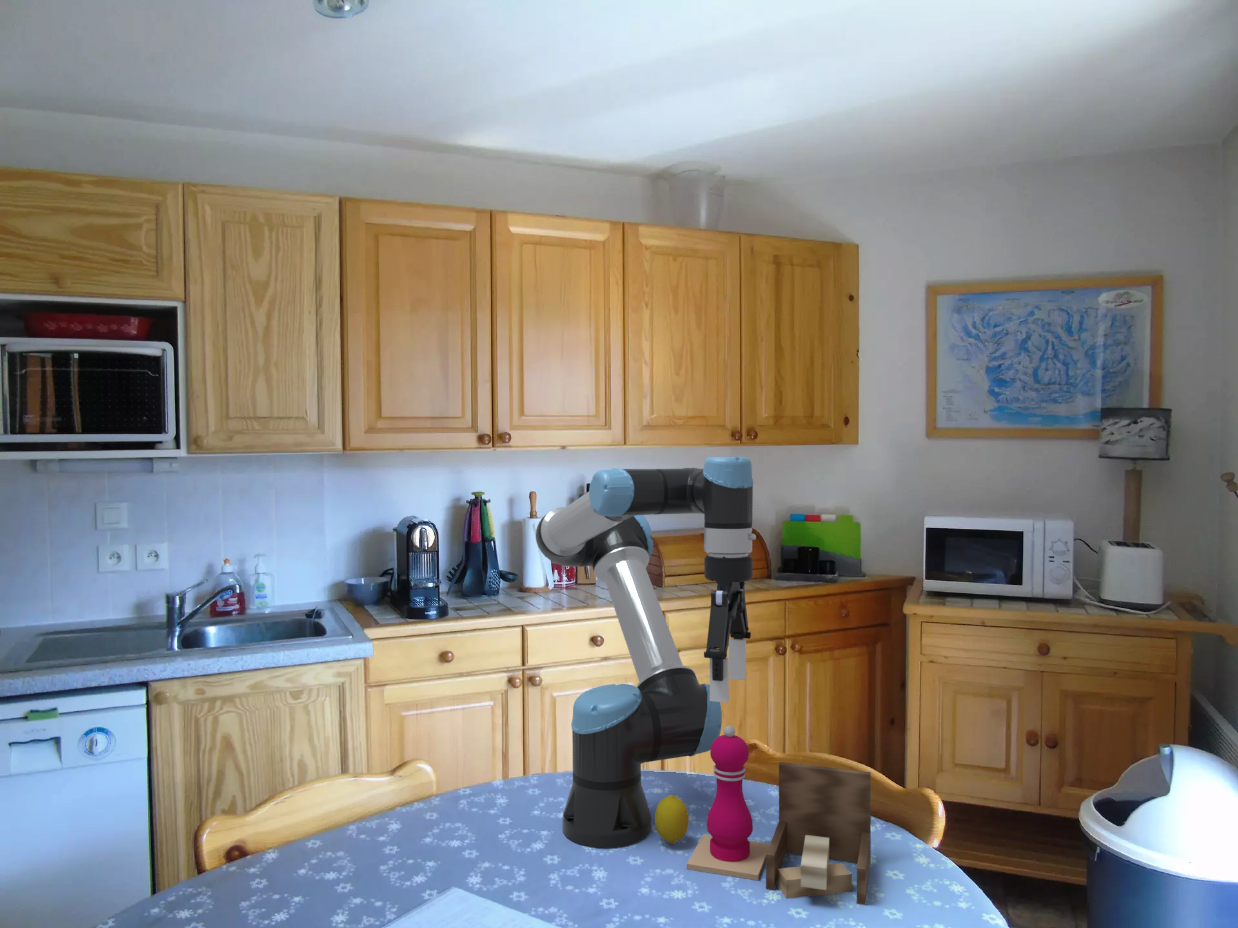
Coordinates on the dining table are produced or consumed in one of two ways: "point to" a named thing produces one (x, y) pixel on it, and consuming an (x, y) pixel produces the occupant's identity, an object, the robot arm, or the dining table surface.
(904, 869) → the dining table surface
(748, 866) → the cork mat
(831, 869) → the offcut bottom
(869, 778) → the rack
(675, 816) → the lemon
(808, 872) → the offcut top
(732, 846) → the pepper mill
